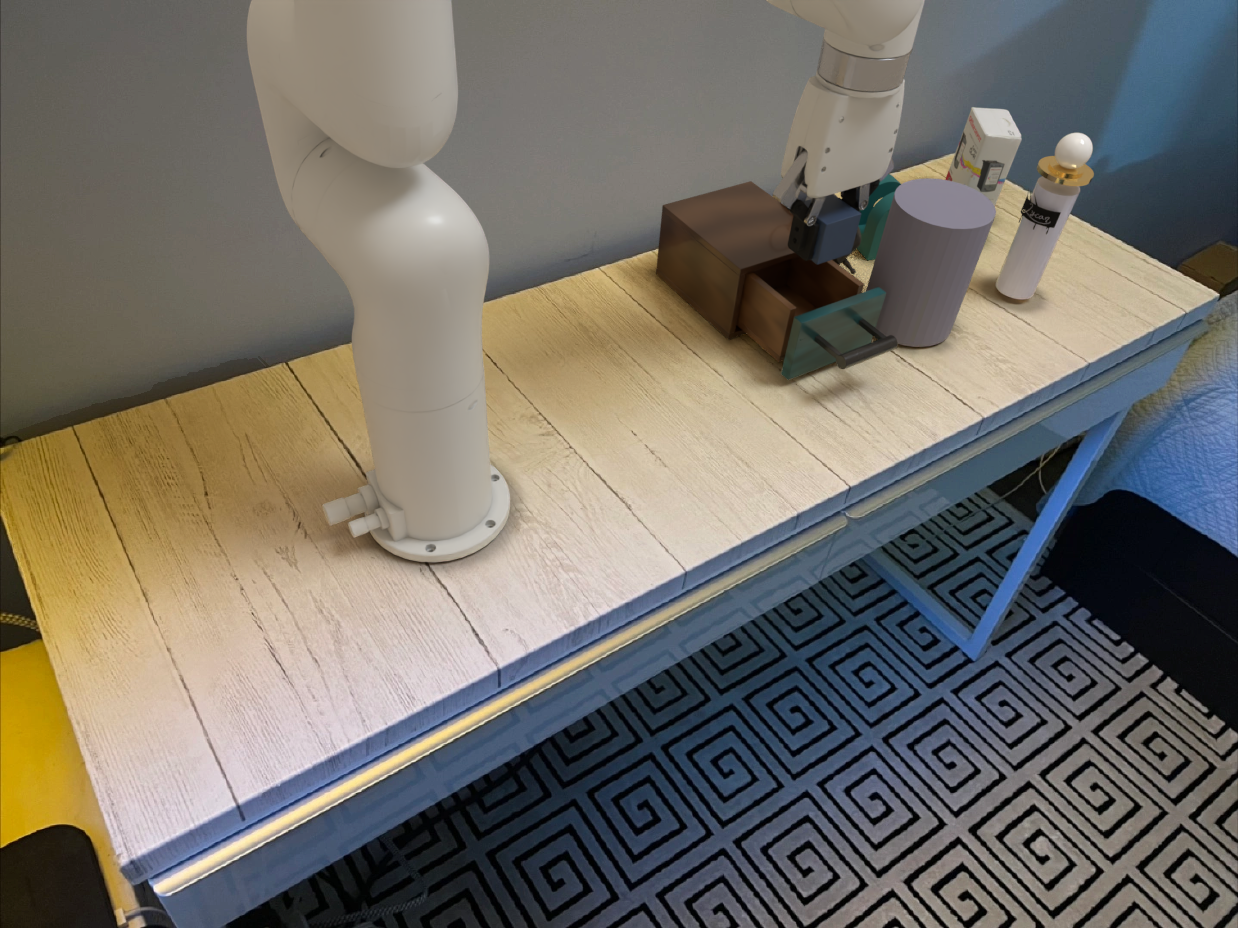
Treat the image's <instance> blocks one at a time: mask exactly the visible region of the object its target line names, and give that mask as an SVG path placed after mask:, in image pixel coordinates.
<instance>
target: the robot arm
mask: <svg viewBox="0 0 1238 928" xmlns="http://www.w3.org/2000/svg"><path fill="white" fill-rule="evenodd" d="M765 1H766V2H767V3H768V4H770V5H772V6H773V7H775V8H778V9H780V10H782V11H784V12H786V13H788V14H791V15H792V16H795V17H796V18H799V19H801V20H804V21H807V22H809V23H812V24H814V25H816V26H818V27H820V28H822V29H824V31H823V32H824V33H823V36H822V42H821V47H820V51H819V57H818V62H817V67H816V73H815V75H813V76H809V78H808V79H807V82H806V84H805V86H804V88H803V90H802V93H801V96H800V99H799V101H798V104H797V107H796V110H795V113H794V116H793V120H792V123H791V125H790V130H789V133H788V137H787V141H786V146H785V150H784V153H783V158H782V164H781V170H780V177H781V180H780V181H779V183H778V185H776V187H775V189H774V190H773V192H772V197H773V198H775V199H776V200H777V201H779V202H780V203H781V204H783V205H784V206H786V207H787V209H788V210H789V212H790V213H791V214H792V215H793V220H792V225H791V230H790V235H789V240H788V247H789V249H791V250H792V251H793V252H795V253H796V254H797V255H798V256H800V257H801V258H802V259H804V260H805V261H808V260H811V259H812V257H813V253H814V249H815V244H816V240H817V236H818V231H819V226H820V225H819V224H817V223H816V220H817V218H818V215H819V213H820V210H821V208H822V206H823V203H824V201H825V198H826V196H828V195H831V194H835V195H836V194H838V193H840V197H838V198H839V199H841V200H842V201H843V202H845V203H846V204H848V205H849V206H851V207H852V208H854V209H855V210H857V211H858V212H860V210H864V209H865V208H866V207H867V205H868V202H869V196H870V195H871V194H872V193H873V192H874V191H875V189H876V188H877V187H878V186H879V183H880V182H881V181H882V180H883V179H884V178H885V177H886V176H887V175H888V174H890V173H891V172H893V170H894V168H895V163H894V159H893V157H892V156H893V153H894V150H895V145H896V142H897V137H898V132H899V128H900V122H901V118H902V110H903V106H904V105H903V104H904V95H905V83H906V80H905V76H906V72H907V69H908V65H909V61H910V57H911V55H912V53H913V46H914V42H915V39H916V35H917V31H918V29H919V25H920V20H921V16H922V13H923V10H924V6H925V1H926V0H765ZM453 15H454V14H453V5H452V0H250V4H249V7H248V13H247V18H246V19H247V20H246V47H247V55H248V61H249V66H250V71H251V76H252V80H253V85H254V89H255V94H256V98H257V102H258V107H259V112H260V116H261V120H262V124H263V129H264V134H265V137H266V142H267V147H268V150H269V153H270V154H269V155H270V158H271V162H272V167H273V171H274V175H275V179H276V182H277V186H278V190H279V192H280V195H281V199H282V201H283V203H284V206H285V209H286V210H287V213H288V214H289V216H290V218H291V219H292V221H293V222H294V223H295V225H296V226H297V228H298V229H299V230H300V231H301V233H302V234H303V235H304V236H305V237H306V239H308V241H309V242H310V243H311V244H312V245H313V246H314V248H316V249H317V251H318V252H319V253H320V254H321V255H322V256H323V258H324V259H325V261H326V262H327V263H328V264H329V266H331V268H332V269H333V270H334V271H335V272H336V274H337V275H338V276H339V277H340V278H341V280H342V281H343V283H344V285H345V286H346V289H347V291H348V293H349V295H350V298H351V301H352V306H353V313H354V314H353V325H352V330H351V349H352V350H351V351H352V360H353V365H354V370H355V375H356V381H357V384H358V388H359V389H358V390H359V394H360V399H361V405H362V410H363V415H364V421H365V425H366V430H367V435H368V441H369V446H370V451H371V452H370V453H371V457H372V462H373V467H374V469H371V470H368V471H366V472H365V476H366V481H367V484H365V485H362V486H360V487H358V488H357V493H354V494H351V495H348V496H346V497H343V496H341V497H339V498H337V499H333V500H331V501H328V502H325V503H323V504H322V505H321V507H322V511H323V514H324V516H325V519H326V521H327V523H328V525H329V526H334V525H337V524H339V523H343V522H344V521H347V520H350V519H351V518H352V517H355V516H359V515H360V514H363V513H364V517H363V516H362V517H359V518H356V519H353V520H351V521H348V522H347V526H348V529H349V532H350V534H351V537H353V538H357V537H360V536H363V535H365V534H367V533H370V535H371V536H372V538H373V539H374V540H375V542H376V543H377V544H379V545H380V547H382V548H383V549H384V550H386V551H387V552H389V553H391V554H392V555H395V556H397V557H400V558H403V559H405V560H410V561H414V562H420V563H441V562H450V561H455V560H457V559H461V558H462V559H463V558H465V557H467V556H469V555H472V554H475V553H477V552H478V551H479V550H480V551H481V549H483V548H484V547H486V546H488V545H489V544H490V543H491V542H492V541H494V540H495V539H496V538H497V537H498V536H499V534H500V533H501V532H502V530H503V529H504V528H505V525H506V523H507V521H508V520H509V517H510V511H511V495H510V487H509V485H508V483H507V481H506V478H505V477H504V476H503V474H502V473H501V471H499V470H498V469H497V467H495V466H494V465H493V464H491V455H490V453H491V451H490V439H489V438H490V437H489V422H488V407H487V392H486V376H485V365H484V350H483V349H484V348H483V311H484V302H485V296H486V291H487V285H488V280H489V279H488V278H489V272H490V249H489V243H488V239H487V236H486V233H485V231H484V228H483V226H482V225H481V223H480V221H479V219H478V218H477V216H476V214H475V213H474V211H473V210H472V209H471V207H470V206H469V205H468V204H467V202H466V201H465V200H464V199H463V197H461V196H460V194H459V193H457V191H456V190H454V189H453V188H452V187H451V186H450V185H449V184H448V183H447V182H445V180H443V178H441V177H440V176H439V175H438V174H436V173H435V171H433V170H432V169H430V167H428V166H427V165H426V164H425V163H426V162H429V161H430V160H432V159H433V158H434V157H435V156H437V154H438V153H439V152H441V150H442V149H443V147H444V146H445V145H446V143H447V141H448V140H449V138H450V136H451V134H452V131H453V129H454V126H455V123H456V118H457V113H458V102H459V83H458V82H459V81H458V68H457V67H458V66H457V57H456V43H455V31H454V30H455V29H454V16H453ZM807 196H809V197H810V198H813V199H812V200H811V203H810V205H809V208H808V207H807V206H806V205H805V200H806V198H807ZM860 213H861V212H860Z"/></svg>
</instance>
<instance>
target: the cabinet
mask: <svg viewBox="0 0 1238 928" xmlns="http://www.w3.org/2000/svg"><path fill="white" fill-rule="evenodd" d="M661 206H662V207H661V217H660V218H661V219H660V229H659V239H658V250H657V257H656V258H657V260H656V268H655V274H656V276H657V277H659V278H660V279H661V280H662V281H663V282H664V283H665V284H666V285H667V286H669V287H670V288H671V289H672V291H674V292H675V293H676V294H677V295H679V296H680V298H681V299H683V300H684V301H685V302H686V303H687V304H688V305H690V306H691V308H692V309H694V310H695V311H696V312H697V313H698V314H699V315H700V316H702V318H704V319H705V320H706V321H707V322H708V323H709V324H710V325H711V326H712V327H714V328H715V330H716V331H718V332H719V333H720V334H721V335H723V337H724V338H726V339H727V340H728V341H731V340H732V339H735V338H738V337H741V336H744V335H747V334H746V333H745V332H744V331H743V330H742V329H740V328H739V327H738V326H737V325H736V323H737V318H738V312H739V306H740V301H741V295H742V289H743V284H744V278H745V274H746V273H750V272H753V271H756V270H759V269H762V268H765V267H768V266H771V265H774V264H777V263H781V262H784V261H787V260H790V259H793V258H796V257H799V256H798V255H797V254H796V253H795V252H793V251H792V250H791V249H789V247H788V240H789V235H790V230H791V225H792V220H793V215H792V214H791V213H790V212H789V210H788V209H787V207H786V206H784V205H783V204H781V203H780V202H779V201H777V200H776V199H775V198H773V195H771V194H769V192H767V191H765V190H764V189H762V188H761V187H760V186H759V185H757V184H756V183H754V182H753V181H752V180H750V181H746V182H742V183H739V184H734V185H731V186H728V187H724V188H720V189H717V190H712V191H709V192H706V193H702V194H699V195H695V196H690V197H687V198H684V199H680V200H676V201H672V202H667V203H664V204H662V205H661Z"/></svg>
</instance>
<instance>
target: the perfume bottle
mask: <svg viewBox="0 0 1238 928" xmlns="http://www.w3.org/2000/svg"><path fill="white" fill-rule="evenodd" d="M1093 150H1094V146H1093V142H1092V140H1091V138H1090V137H1089V136H1088V135H1086V134H1084V132H1083V133H1082V132H1071V133H1068V134H1066V135H1065V136H1063V137H1062V138H1061V139H1059V141H1058V142H1057V144H1056V145H1055V148H1054V155H1049V156H1045V157H1042V158H1041V159H1039V161H1038V162H1037V165H1036V171H1037V173H1038V174H1039V175H1040V177H1038V179H1037V180H1036V183H1035V186H1034V188H1033V191H1030V193H1029V190H1030V189H1028V190H1027V193H1029V194H1030V195H1029V194H1026V195H1027V196H1026V197H1025V200H1024V202H1023V205H1022V208H1021V210H1020V214H1021V216H1020V218H1019V220H1018V223H1019V224H1018V227H1017V229H1016V232H1015V234H1014V236H1013V239H1012V242H1011V245H1010V246H1009V249H1008V252H1007V254H1006V256H1005V259H1004V261H1003V264H1002V266H1001V269H1000V271H999V274H998V276H997V278H996V280H995V283H994V284H995V288H996V290H998V292H1000V294H1002V295H1004V296H1006V297H1009V298H1011V299H1015V300H1028V299H1031V298H1032V297H1034V295H1035V293H1036V291H1037V289H1038V287H1039V284H1040V282H1041V280H1042V277H1043V275H1044V274H1045V271H1046V268H1047V266H1048V265H1049V262H1050V260H1051V257H1052V255H1053V253H1054V251H1055V249H1056V246H1057V244H1058V242H1059V240H1060V237H1061V235H1062V233H1063V231H1064V228H1065V226H1066V224H1067V221H1068V220H1069V218H1070V215H1071V213H1072V211H1073V208H1074V206H1075V204H1076V202H1077V199H1078V198H1079V194H1080V193H1081V187H1083V186H1087V185H1089V184H1090V183H1091V182H1092V180H1093V178H1094V176H1095V173H1094V170H1093V169H1092V168H1091V167H1090V166H1089V165H1087V163H1088V161H1089V160H1090V158H1091V157H1092V155H1093Z"/></svg>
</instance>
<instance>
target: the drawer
mask: <svg viewBox="0 0 1238 928" xmlns="http://www.w3.org/2000/svg"><path fill="white" fill-rule="evenodd" d="M864 287H865V283H864V282H862V281H861V280H860V279H858V277H856V276H854V274H851V272H850V271H847V270H846V269H845V268H843V267H842V266H841V264H840V265H838V264H837V263H835V262H834V261H833V260H830V261H827V262H824V263H821V264H818V265H817V264H815V263H814V262H813V261H811V260H808V261H805V260H804V259H802V258H801V257H800V256H799V257H796V258H793V259H790V260H787V261H784V262H781V263H777V264H774V265H771V266H768V267H765V268H762V269H759V270H756V271H753V272H750V273H746V274H745V278H744V284H743V289H742V295H741V301H740V306H739V312H738V318H737V323H736V325H737V326H738V327H739V328H740V329H742V330H743V331H744V332H745V333H746V334H745V335H747V337H749V338H751V340H753V341H754V342H755V343H756V344H757V345H758V346H760V347H761V348H762V349H763V350H764V351H765V352H766V353H767V354H769V356H771V357H772V358H773V359H774V360H775V361H776V362H778V363H782V362H783V364H782V367H781V372H780V375H781V376H782V377H784V378H785V379H786V380H787V381H791V380H793V379H795V378H798V377H800V376H803V375H805V374H808V373H811V372H813V371H816V370H818V369H821V368H824V367H825V366H829V365H830V364H834V363H835V364H836V366H837V367H838V368H839V369H840V370H846V369H848V368H851V367H854V366H856V365H858V364H861V363H863V362H866V361H869V360H872V359H874V358H876V357H879V356H881V355H885V354H886V353H889V352H891V351H895V350H896V349H897V348H898V346H899V344H898V342H897V339H896V338H895V337H894V336H893V335H889V336H887V337H886V336H885V335H884V334H883V333H881V332H880V331H879V330H878V329H876V325H877V321H878V318H879V315H880V312H881V309H882V305H883V302H884V299H885V296H886V292H885V291H883V290H882V289H881V288H879V287H877V288H874V289H871V290H869V291H866V290H865V291H863V290H864ZM873 338H874V339H876V340H874V341H873Z"/></svg>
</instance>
